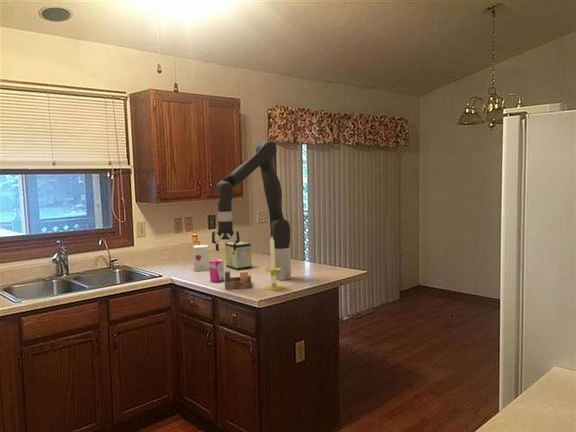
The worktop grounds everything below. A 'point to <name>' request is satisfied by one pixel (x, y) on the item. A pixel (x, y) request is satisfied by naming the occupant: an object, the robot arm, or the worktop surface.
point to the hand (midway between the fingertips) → (226, 251)
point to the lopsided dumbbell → (242, 276)
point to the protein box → (238, 255)
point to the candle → (273, 269)
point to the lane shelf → (238, 283)
